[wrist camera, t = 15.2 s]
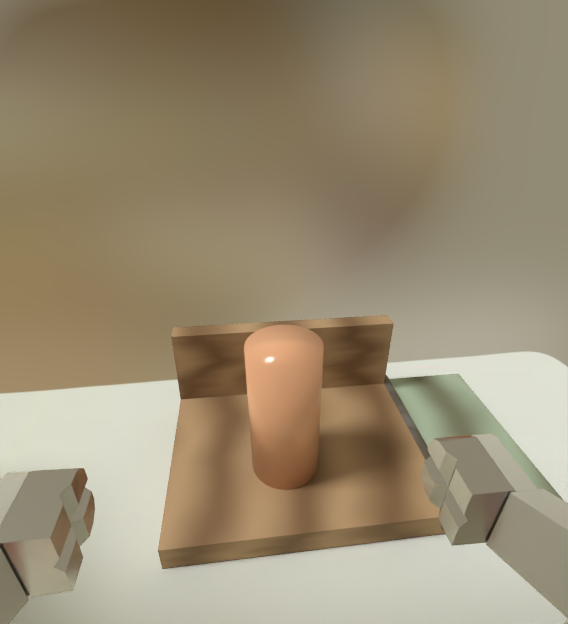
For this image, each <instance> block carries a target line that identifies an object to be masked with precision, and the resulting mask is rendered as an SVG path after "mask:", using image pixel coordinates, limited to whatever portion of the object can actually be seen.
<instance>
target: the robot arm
mask: <svg viewBox="0 0 568 624" xmlns="http://www.w3.org/2000/svg"><path fill="white" fill-rule="evenodd" d="M427 450H428V452H429V453H430V455H431V456H430V457H429V458H428V459H426V460H425V461H424V463H423V467H422V471H421V473H422V483H423V487H424V490H425V493H426V495H427V497H428V499H429V501H430V502H431V503H432V504H434V505H435V506H436V507H438V508H439V509H440V512H439V517H438V519H439V521H440V523H441V525H442V527H443V529H444V531H445V533H446V535H447V537H448V539H449V541H450V543H451V545H452V546H453V545H464V544H476V543H487V544H486V545H487V546H488V547H489V548H490V549H492V550H493V551H494V552H495V553H496V554H497V555H498V556H499V557H500V558H502V559H503V560H504V561H505V562H506V563H507V564H508V565H509V566H510V567H512V568H513V569H514V570H515V571H516V572H517V573H518V574H519V575H520V576H521V577H523V578H524V579H525V580H526V581H527V582H528V583H529V584H530V585H531V586H533V587H534V588H535V589H536V590H537V591H538V592H539V593H540V594H541V595H543V596H544V597H545V598H546V599H547V600H548V601H549V602H550V603H551V604H552V605H554V606H555V607H556V608H557V609H558V610H559V611H560V612H561V613H562V614H564V615H565V616H566V617H567V618H568V503H566V502H565V501H563V500H561V499H560V498H558V497H556V496H555V495H553V494H552V493H550V492H548V491H547V490H545V489H537V487H536V486H535V485H534V484H533V482H532V481H531V480H530V479H529V477H528V476H527V475H526V473H525V472H524V471H523V470H522V468H521V467H520V466H519V465H518V463H517V462H516V461H515V460H514V458H513V457H512V456H511V454H510V453H509V452H508V451H507V449H506V448H505V447H504V446H503V444H502V443H501V442H500V441H499V439H498V438H497V437H496V436H494V435H493V434H480V435H471V436H470V435H465V436H454V437H444V438H434V439H432V440H431V441H430V442H429V446H428V449H427ZM87 479H88V478H87V475H86V473H85V470H84V469H83V468H76V469H58V470H41V471H27V472H12V473H7V474H6V475H5V476H3V477H2V478H1V479H0V624H9V623H10V622H11V620H12V619H13V618H14V617H15V616H16V614H17V613H18V612H19V611H20V610H21V608H22V607H23V606H24V605H25V604H26V602H27V601H28V598H27V597H34V596H40V595H47V594H54V593H61V592H67V591H73V589H74V585H75V582H76V579H77V576H78V572H79V569H80V566H81V563H82V559H83V556H82V553H81V550H80V546H81V545H82V544H83V543H84V542H85V541H86V539H87V538H88V537H89V536H90V533H91V529H92V525H93V520H94V511H95V506H94V498H93V494H92V492H91V491H90V490H88V489H87V488H85V485H86V482H87ZM564 624H568V619H567V621H566V622H565V623H564Z"/></svg>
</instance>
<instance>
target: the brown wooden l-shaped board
mask: <svg viewBox="0 0 568 624" xmlns="http://www.w3.org/2000/svg"><path fill="white" fill-rule="evenodd" d="M274 325H295V326H300V327H304V328H307V329H309V330H311V331H313V332H314V333H316V334H317V335H318V336H319V337H320V338H321V340H322V342H323V346H324V349H323V371H322V393H321V414H320V436H319V458H318V468H317V471H316V473H315V475H314V477H313V478H312V479H311V480H310V481H309V482H308V483H306V484H305V485H303V486H301V487H298V488H295V489H290V490H281V489H275V488H272V487H269V486H267V485H266V484H264V483H263V482H261V481H260V480H259V479H258V477H257V476H256V474H255V473H254V470H253V466H252V453H251V439H250V425H249V411H248V397H247V383H246V369H245V355H244V344H245V341H246V340H247V338H248V337H249V336H250V335H251V334H253V333H254V332H256V331H257V330H260V329H262V328H265V327H269V326H274ZM392 329H393V322H392V321H391V320H390V318H389V317H388V316H387V315H381V316H364V317H348V318H347V317H346V318H330V319H312V320H297V321H279V322H261V323H243V324H226V325H209V326H193V327H175V328H173V332H172V337H171V338H172V344H173V350H174V357H175V364H176V370H177V376H178V384H179V390H180V397H181V402H180V409H179V416H178V422H177V429H176V435H175V442H174V449H173V455H172V462H171V468H170V475H169V482H168V488H167V495H166V501H165V508H164V515H163V521H162V528H161V534H160V541H159V548H158V552H159V556H160V561H161V565H162V569H163V568H171V567H179V566H187V565H195V564H203V563H212V562H220V561H228V560H236V559H244V558H252V557H260V556H268V555H276V554H284V553H292V552H300V551H308V550H316V549H324V548H333V547H341V546H349V545H357V544H365V543H373V542H381V541H389V540H397V539H405V538H413V537H421V536H429V535H437V534H445V531H444V529H443V527H442V525H441V523H440V521H439V519H438V517H439V512H440V509H439V508H438V507H436V506H435V505H434V504H432V503H431V502H430V501H429V499H428V497H427V495H426V493H425V490H424V487H423V483H422V473H421V471H422V467H423V463H424V461H425V460H426V459H428V458H429V457H430V456H431V455H430V453H429V452H428V450H427V449H428V446H429V442H430V441H431V440H432V439H434V438H444V437H454V436H465V435H470V436H471V435H480V434H493V435H494V436H496V437H497V438H498V439H499V441H500V442H501V443H502V444H503V446H504V447H505V448H506V449H507V451H508V452H509V453H510V454H511V456H512V457H513V458H514V460H515V461H516V462H517V463H518V465H519V466H520V467H521V468H522V470H523V471H524V472H525V473H526V475H527V476H528V477H529V479H530V480H531V481H532V482H533V484H534V485H535V486H536V487H537V489H545V490H547V491H548V492H550V493H552V494H553V495H555V496H556V497H558V498H560V499H561V500H563V499H562V498H561V497H560V496H559V494H558V493H557V492H556V491H555V490H554V488H553V487H552V486H551V485H550V483H549V482H548V481H547V480H546V479H545V477H544V476H543V475H542V474H541V473H540V471H539V470H538V469H537V468H536V467H535V465H534V464H533V463H532V462H531V461H530V459H529V458H528V457H527V456H526V455H525V453H524V452H523V451H522V450H521V449H520V447H519V446H518V445H517V444H516V443H515V441H514V440H513V439H512V438H511V436H510V435H509V434H508V433H507V432H506V430H505V429H504V428H503V427H502V426H501V424H500V423H499V422H498V421H497V420H496V418H495V417H494V416H493V415H492V414H491V412H490V411H489V410H488V409H487V408H486V406H485V405H484V404H483V403H482V402H481V400H480V399H479V398H478V397H477V396H476V394H475V393H474V392H473V391H472V390H471V388H470V387H469V386H468V385H467V383H466V382H465V381H464V380H463V379H462V377H461V376H460V375H459V374H450V375H437V376H424V377H411V378H398V379H389V378H388V376H387V375H385V374H386V367H387V361H388V355H389V348H390V341H391V336H392ZM563 501H564V500H563Z"/></svg>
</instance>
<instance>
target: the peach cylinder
mask: <svg viewBox="0 0 568 624" xmlns="http://www.w3.org/2000/svg"><path fill="white" fill-rule="evenodd" d="M323 349H324V346H323V342H322V340H321V338H320V337H319V336H318V335H317V334H316V333H314V332H313V331H311V330H309V329H307V328H304V327H300V326H295V325H274V326H269V327H265V328H262V329H260V330H257V331H256V332H254V333H253V334H251V335H250V336H249V337H248V338H247V340H246V341H245V344H244V355H245V369H246V383H247V397H248V411H249V425H250V439H251V453H252V466H253V470H254V473H255V474H256V476H257V477H258V479H259V480H260V481H261V482H263V483H264V484H266V485H267V486H269V487H272V488H275V489H281V490H290V489H295V488H298V487H301V486H303V485H305V484H306V483H308V482H309V481H310V480H311V479H312V478H313V477H314V475H315V473H316V471H317V468H318V458H319V436H320V414H321V393H322V371H323Z"/></svg>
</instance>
